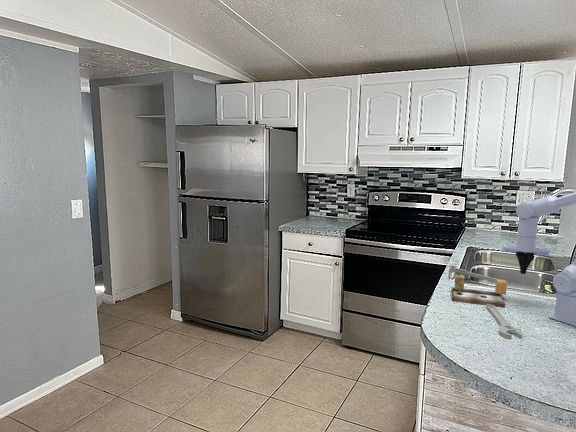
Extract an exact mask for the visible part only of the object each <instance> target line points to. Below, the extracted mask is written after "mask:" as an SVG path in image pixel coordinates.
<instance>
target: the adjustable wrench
mask: <svg viewBox="0 0 576 432" xmlns="http://www.w3.org/2000/svg"><path fill="white" fill-rule="evenodd" d="M485 309H486V310H487V311H488V312H489V313H490V315H491V316H492V317H493V319H494V320H495V322H496V323H497V325H499V328H498V335H499V336H501V337H503V338H505V339H507V340H512V336H515V337H516V338H518V339H522V338H523V331H522V328H518V327H515V326H514V325H511V324H510V323H509V322H508V321H507V320H506V319H505V317H504V316H503V314H501V312H500V311H499V309H498V307H497V306H494V305H492V304H487V305H485Z"/></svg>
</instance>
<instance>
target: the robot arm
mask: <svg viewBox="0 0 576 432" xmlns="http://www.w3.org/2000/svg"><path fill="white" fill-rule="evenodd" d="M573 205H576V191H575V192H572V193H571V192H570V193H568V194H565V195H563V196H556V195H551V194H546V195H543V198H539V199H537V198H533V199H531V201H527V202H526V201H523V202H520V203H518V204H517V206H516V207H515V214H516V215H517V217H518V226H517V227H518V228H517V235H516V236H517V237H516V245H502V247H501V252H502V253H512V254H513V253H515V256H516V258H517V261H518V264H519V269H520V272H519V273H520V274H521V275H526V273H527V270H528V268H529V266H530V264H531V263H532V262H533V260H534V259H535V255H538V256H546V257H550V253H551V251H550V249H548V248H540V247H536V242H537V233H538V231H537V230H538V224H539V222H540V218H541V217H542V216H547V215H551V214H555V213H558V212H560V211H561V209H562V208H564V207H568V206H573ZM552 284H553V288H554V289H555V290H556V291H555V292H556V297H555V298H556V299H555V305H554V306H555V308H554V313H553V314H551V315H548V318H549V319H553V320H556V321H558V322H562V323H564V324H567V325H568V324H569V325H570V326H573V327H576V258H575V259H573V262H572V263H571V264H569V265H568V266H566V267H564V268H563V269H562V271H561V272H560V273H558V274H556V275H554V276H553V279H552Z"/></svg>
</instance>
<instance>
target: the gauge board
mask: <svg viewBox="0 0 576 432" xmlns="http://www.w3.org/2000/svg"><path fill="white" fill-rule="evenodd" d="M450 289H451V301H452V302H459V303H464V304H465V303H467V304H475V305H482V306H486V305H487V304H492V305H494V306H495V307H496V308H505V307H506V303H505V301H504V299H501V296H500V294H496V291H490V290H488V291H487V290H482V289H481V290H479V289H472V288H465V277H464V275H460V274H458V275H455V279H454V286H453V287H451V288H450Z"/></svg>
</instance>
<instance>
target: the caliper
mask: <svg viewBox="0 0 576 432" xmlns="http://www.w3.org/2000/svg"><path fill="white" fill-rule="evenodd" d="M452 274H453V276H452ZM455 275H464V278H466V277H468V276H469V277H471V278H475V279H480V280H484V281H488V282H493V283H496V279H497V278H496V277H492V276H487V275H482V274H478V273H476V272H471V271H468V270H466V269H463V268H458V267H457V265H454V264H452V266H450V267H449V270H448V275H447V277H448V279H451V276H452V279H453V280H455Z"/></svg>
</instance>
